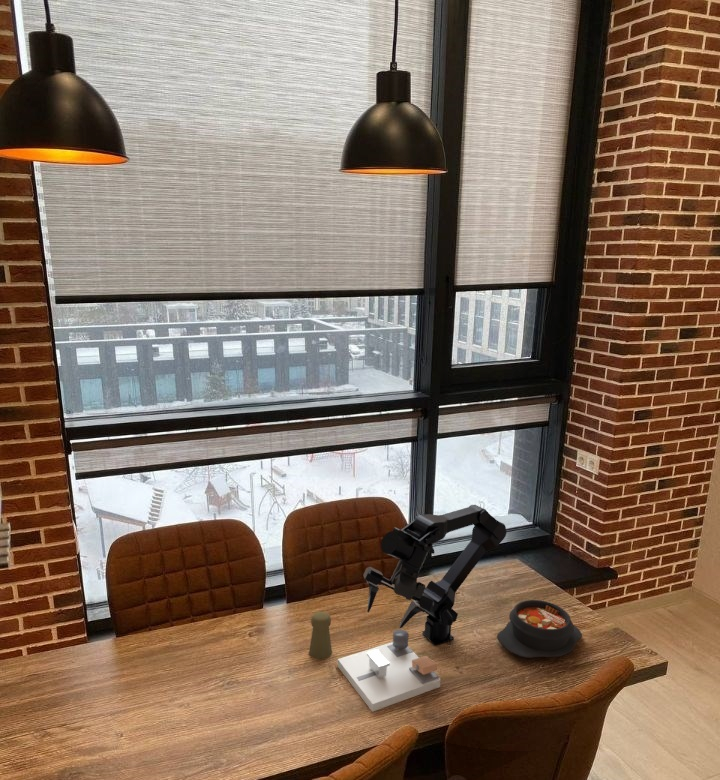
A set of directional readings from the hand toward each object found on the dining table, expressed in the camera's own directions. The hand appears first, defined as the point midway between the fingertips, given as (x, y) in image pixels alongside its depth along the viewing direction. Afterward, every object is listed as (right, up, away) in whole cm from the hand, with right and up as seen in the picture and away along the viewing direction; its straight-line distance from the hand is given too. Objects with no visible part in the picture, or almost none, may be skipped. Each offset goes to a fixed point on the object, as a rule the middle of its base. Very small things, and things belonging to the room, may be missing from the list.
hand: (383, 619), depth 157 cm
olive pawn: (-17, -11, +5) cm, 20 cm away
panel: (+1, -13, -3) cm, 13 cm away
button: (+4, -8, +4) cm, 10 cm away
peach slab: (+10, -9, -6) cm, 14 cm away
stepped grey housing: (-2, -11, -5) cm, 12 cm away
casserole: (+43, -11, +13) cm, 46 cm away
